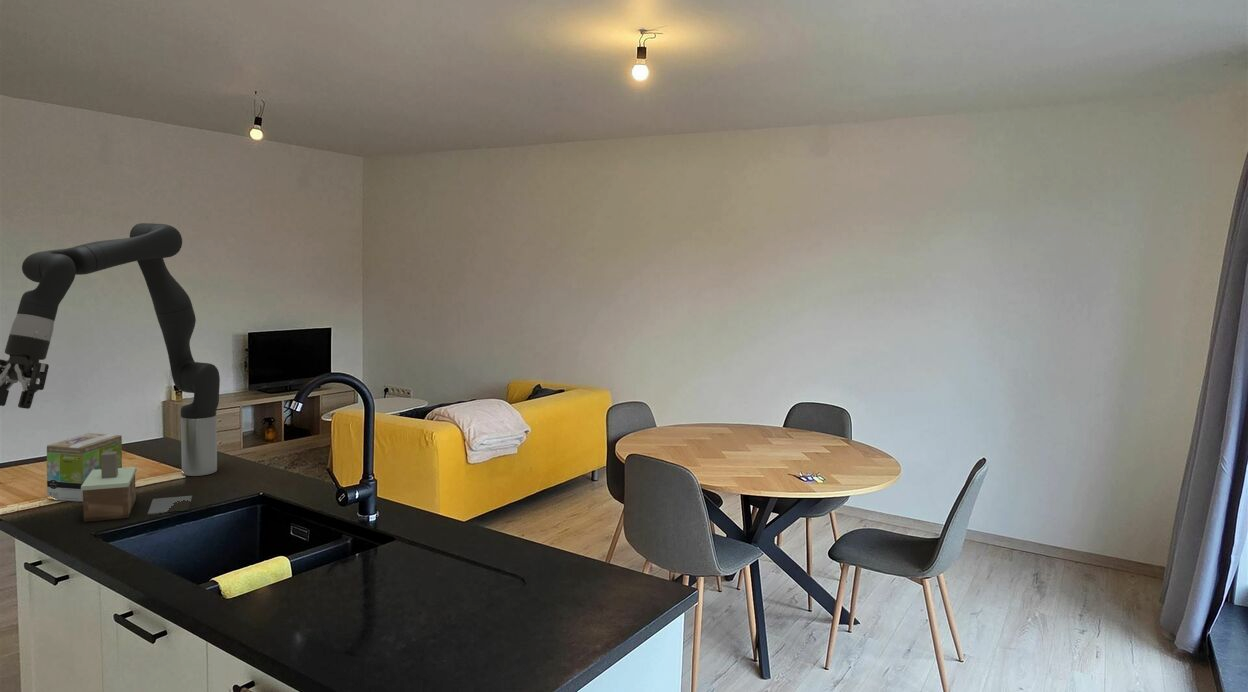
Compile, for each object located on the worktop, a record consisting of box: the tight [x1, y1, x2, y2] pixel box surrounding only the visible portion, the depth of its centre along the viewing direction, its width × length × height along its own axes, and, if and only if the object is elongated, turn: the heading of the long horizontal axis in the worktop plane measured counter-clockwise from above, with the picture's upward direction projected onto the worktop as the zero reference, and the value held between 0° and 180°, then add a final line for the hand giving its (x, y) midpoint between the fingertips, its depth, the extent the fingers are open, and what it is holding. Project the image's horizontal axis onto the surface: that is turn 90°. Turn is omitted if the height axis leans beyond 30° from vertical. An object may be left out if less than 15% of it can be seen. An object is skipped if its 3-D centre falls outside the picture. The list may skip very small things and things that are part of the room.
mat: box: [147, 495, 193, 516], centre depth 195 cm, size 12×9×1 cm
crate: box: [82, 474, 137, 523], centre depth 189 cm, size 14×9×8 cm, turn 27°
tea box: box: [46, 432, 123, 503], centre depth 201 cm, size 15×10×15 cm, turn 179°
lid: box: [81, 451, 137, 491], centre depth 188 cm, size 15×10×8 cm, turn 27°
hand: (11, 406), depth 168 cm, fingers open, 8 cm apart
